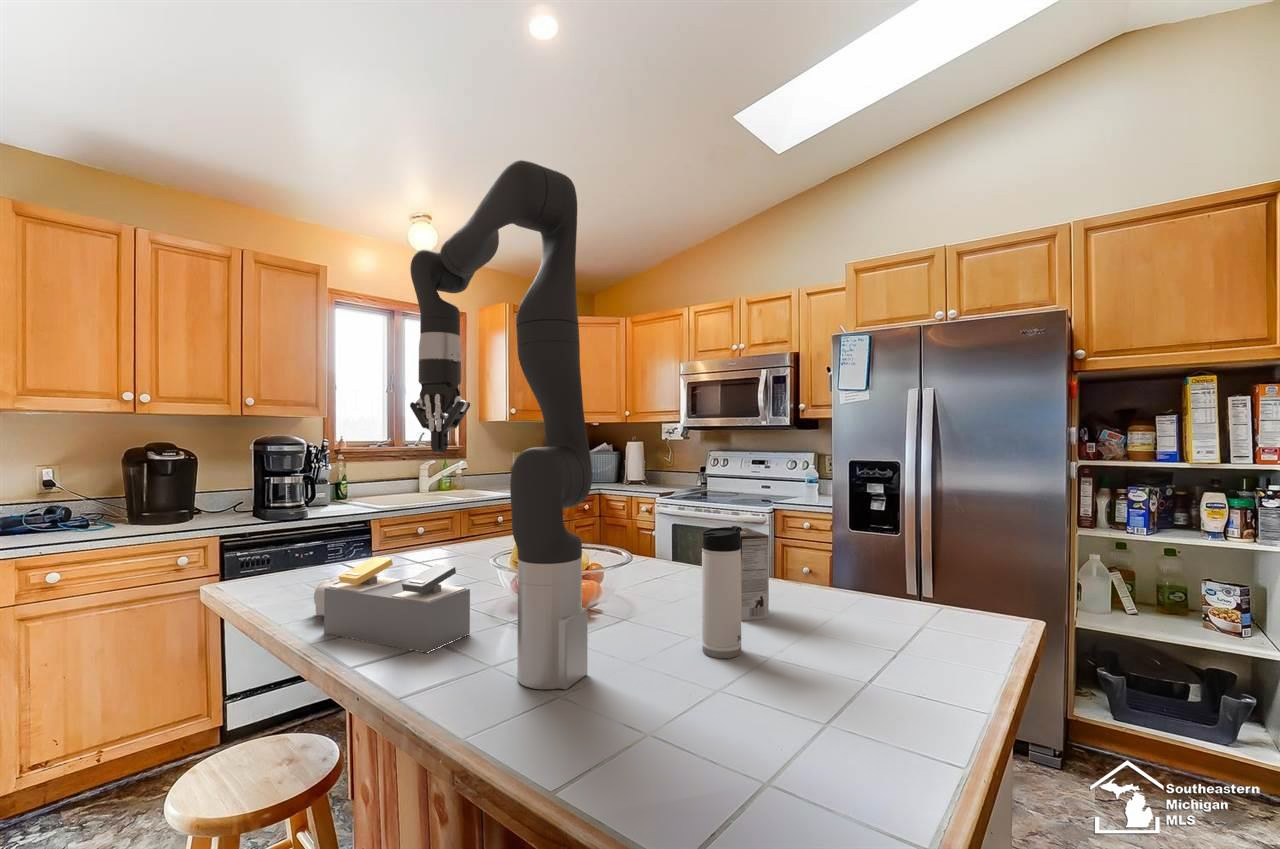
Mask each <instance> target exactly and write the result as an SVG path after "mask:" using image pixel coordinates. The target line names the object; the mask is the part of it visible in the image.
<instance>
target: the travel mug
mask: <svg viewBox="0 0 1280 849" xmlns="http://www.w3.org/2000/svg"><path fill="white" fill-rule="evenodd" d="M740 531H742V527H741V526H738V525H732V526H731V527H730V526H724V527H722V526H721V527H715V528H710V529H707V530H704V531H703V532H702V535H701V541H702V547H701V551H702V552H701V596H702V598H701V600H702V601H701V602H702V603H701V605H702V606H701V611H702V612H701V614H702V615H701V618H702V619H701V621H702V623H701V624H702V626H701V628H702V629H701V630H702V634H701V635H702V639H701V640H702V652H703V654H705V655H706V656H708V657H711V658H715V659H732V658H736V657H738V656H740V655H741V653H742V621H741V553H740V552H741V548H740Z"/></svg>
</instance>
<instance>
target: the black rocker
mask: <svg viewBox="0 0 1280 849" xmlns="http://www.w3.org/2000/svg"><path fill="white" fill-rule="evenodd" d="M456 574H457V571H456V566H454V565H453V566H451V565H442V564H434V565H433V566H430V567H429V568H427V569H426V570H424V571H422V572H420V573H418V574H416V575H414V576H413V577H411V578H409V579H407V580H406V582H404V583H402V588H403V591H410V592H417V593H424V592H426V591H428V590H429V589H431V588H433V587H434V586H436V585H437V584H440V583H442V582H444V581H446V580H447V579H449V578H450V577H452V576H454V575H456Z"/></svg>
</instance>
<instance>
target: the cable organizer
mask: <svg viewBox="0 0 1280 849" xmlns="http://www.w3.org/2000/svg"><path fill="white" fill-rule="evenodd" d="M339 576H340V575H337V576H334V577H331V578H328V579H325V580H323V581H322V582H320V583H319V584H318V585H317V587H316V588H315V590H314V592H313V601H314V605H315V615H316V616H321V617H324V588H327V587H329V586H332V585H336V584H340V580H339Z"/></svg>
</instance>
